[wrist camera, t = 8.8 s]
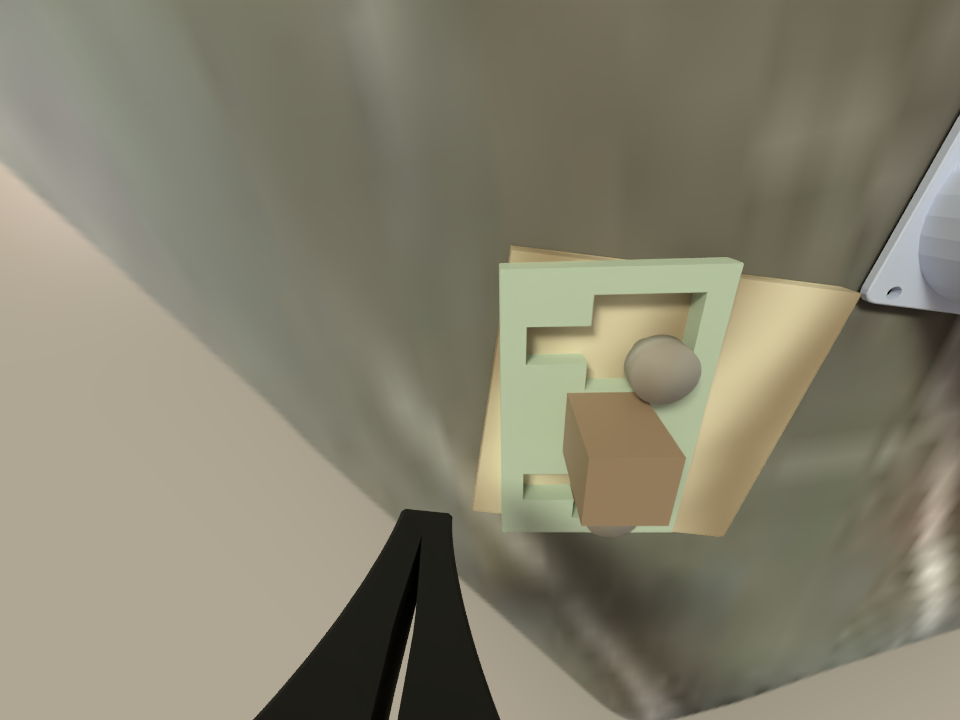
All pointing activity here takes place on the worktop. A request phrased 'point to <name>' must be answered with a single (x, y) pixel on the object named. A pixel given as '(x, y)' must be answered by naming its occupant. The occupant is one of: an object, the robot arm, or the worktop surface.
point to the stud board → (737, 388)
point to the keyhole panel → (569, 370)
